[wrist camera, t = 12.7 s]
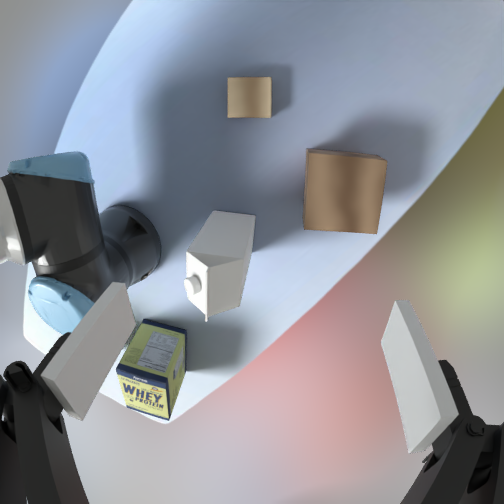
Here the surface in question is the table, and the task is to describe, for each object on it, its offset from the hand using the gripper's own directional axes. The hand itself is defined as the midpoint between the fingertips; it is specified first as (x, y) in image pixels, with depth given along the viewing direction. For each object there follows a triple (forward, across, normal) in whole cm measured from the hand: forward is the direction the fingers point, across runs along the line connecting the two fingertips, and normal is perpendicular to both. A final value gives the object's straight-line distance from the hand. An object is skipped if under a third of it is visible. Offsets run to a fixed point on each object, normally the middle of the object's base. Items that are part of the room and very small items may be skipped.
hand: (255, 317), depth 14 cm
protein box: (+35, +24, +41) cm, 59 cm away
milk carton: (+35, +7, +11) cm, 37 cm away
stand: (+35, +4, -11) cm, 37 cm away
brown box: (+30, -9, +1) cm, 31 cm away
